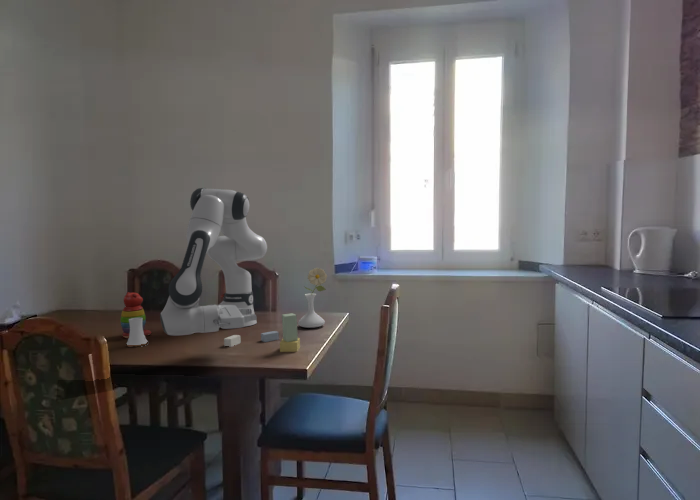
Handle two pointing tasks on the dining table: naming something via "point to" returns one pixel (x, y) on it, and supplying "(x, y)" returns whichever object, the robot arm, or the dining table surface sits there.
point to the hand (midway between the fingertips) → (253, 314)
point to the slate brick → (269, 336)
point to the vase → (136, 332)
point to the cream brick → (232, 340)
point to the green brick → (289, 327)
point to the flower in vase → (311, 317)
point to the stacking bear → (132, 312)
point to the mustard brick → (289, 346)
